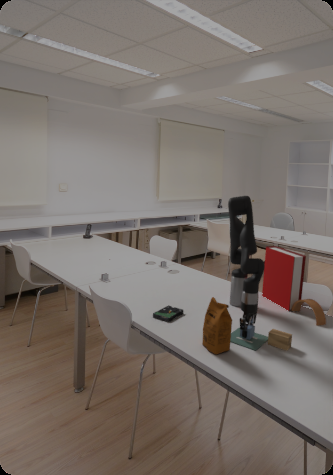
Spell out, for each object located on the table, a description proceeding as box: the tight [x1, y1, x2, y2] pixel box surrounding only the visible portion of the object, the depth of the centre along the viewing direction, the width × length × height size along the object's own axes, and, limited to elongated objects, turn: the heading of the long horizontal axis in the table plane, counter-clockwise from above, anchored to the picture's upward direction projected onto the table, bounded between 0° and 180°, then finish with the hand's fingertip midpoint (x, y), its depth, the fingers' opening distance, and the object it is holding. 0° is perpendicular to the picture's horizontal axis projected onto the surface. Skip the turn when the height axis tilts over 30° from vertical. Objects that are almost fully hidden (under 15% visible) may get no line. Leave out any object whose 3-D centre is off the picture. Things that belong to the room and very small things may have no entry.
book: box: [261, 245, 307, 312], centre depth 212 cm, size 27×8×32 cm, turn 20°
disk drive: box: [152, 305, 184, 323], centre depth 190 cm, size 10×3×15 cm
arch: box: [290, 298, 327, 327], centre depth 192 cm, size 6×20×10 cm, turn 20°
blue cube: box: [240, 325, 256, 340], centre depth 165 cm, size 5×5×5 cm
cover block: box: [267, 328, 293, 352], centre depth 160 cm, size 5×9×6 cm, turn 52°
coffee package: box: [201, 296, 233, 355], centre depth 155 cm, size 10×12×22 cm
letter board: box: [230, 327, 268, 352], centre depth 166 cm, size 16×16×1 cm
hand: (247, 335), depth 166 cm, fingers closed on blue cube, 5 cm apart
